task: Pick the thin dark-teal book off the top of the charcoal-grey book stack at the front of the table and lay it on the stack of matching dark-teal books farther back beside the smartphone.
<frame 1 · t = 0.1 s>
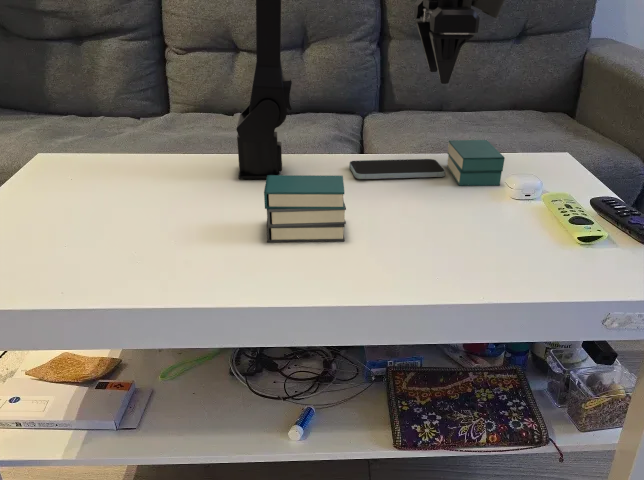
hand: (438, 77, 103), 15 cm above the table, tool pointing down, fingers open, 9 cm apart
grey book 1: (305, 232, 89), on the table, touching grey book 2
teal book 2: (474, 162, 109), point 2 cm above the table, touching teal book 1
teal book 1: (472, 175, 110), on the table, touching teal book 2
smartphone: (396, 172, 111), on the table
grey book 2: (305, 216, 88), point 2 cm above the table, touching grey book 1, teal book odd
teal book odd: (304, 200, 87), point 4 cm above the table, touching grey book 2
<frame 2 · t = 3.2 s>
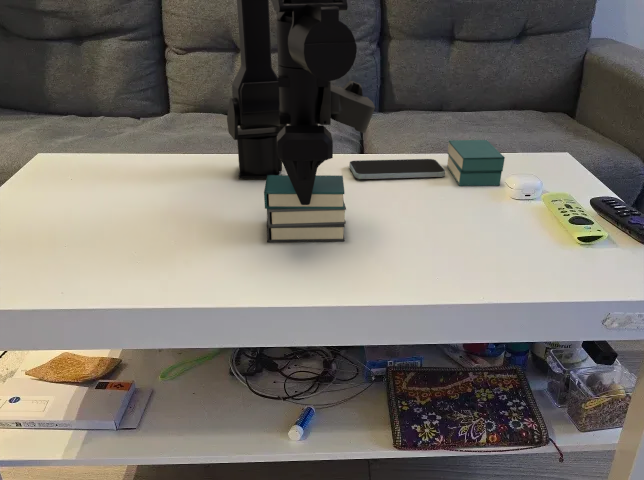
hand: (304, 195, 86), 5 cm above the table, tool pointing down, fingers closed on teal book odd, 6 cm apart
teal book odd: (304, 200, 87), point 4 cm above the table, touching grey book 2, gripper
everything else where it was.
when the fingers open (5 cm above the table, at t = 9.3 s): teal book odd stays where it is, resting on teal book 2.
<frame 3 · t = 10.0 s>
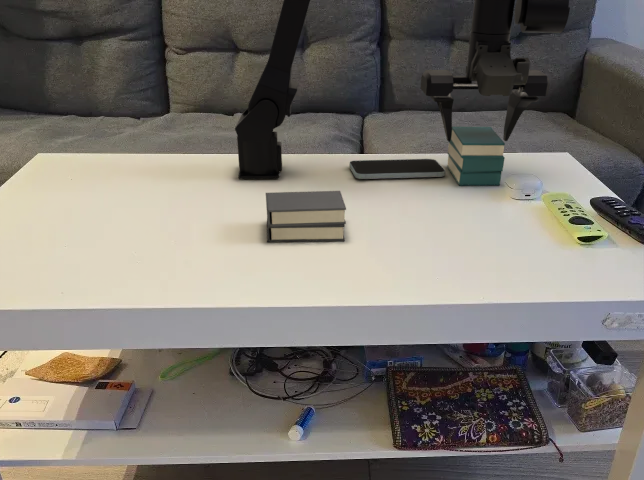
hand: (477, 140, 107), 6 cm above the table, tool pointing down, fingers open, 9 cm apart
teal book 2: (474, 162, 109), point 2 cm above the table, touching teal book 1, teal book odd
grey book 2: (305, 216, 88), point 2 cm above the table, touching grey book 1
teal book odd: (475, 148, 107), point 4 cm above the table, touching teal book 2
everything else where it was.
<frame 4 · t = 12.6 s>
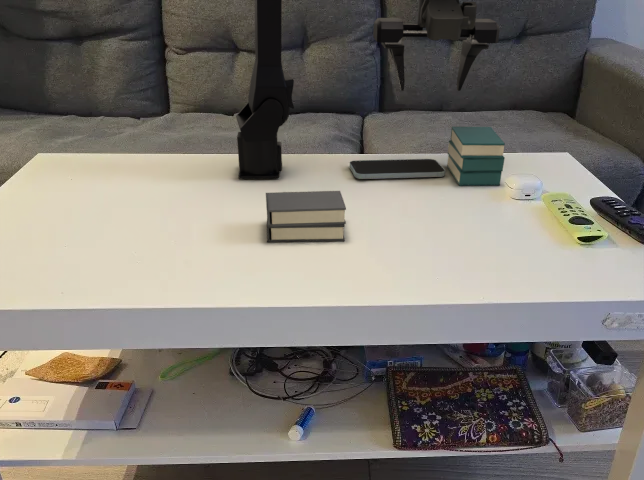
hand: (430, 90, 108), 12 cm above the table, tool pointing down, fingers open, 9 cm apart
nothing on the table moved.
at the end: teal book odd 0.1 cm off-centre on the teal book 1, point 4.4 cm above the teal book 1's base; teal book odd tilted 0°; grey book 2 moved 0.0 cm from its start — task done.
